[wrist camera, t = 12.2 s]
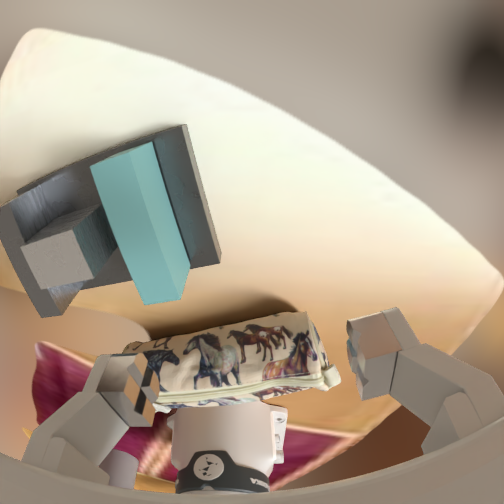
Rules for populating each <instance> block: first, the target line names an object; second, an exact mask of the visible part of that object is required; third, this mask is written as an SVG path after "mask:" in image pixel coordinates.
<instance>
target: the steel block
mask: <svg viewBox="0 0 504 504" xmlns="http://www.w3.org/2000/svg"><path fill="white" fill-rule="evenodd" d="M117 247H118V244H117V241H116V239H115V236H114V234H113V231H112V228H111V226H110V223H109V221H108V218H107V215H106V213H105V210H104V207H103V204H102V203H99V204H96V205H93V206H90V207H87V208H84V209H81V210H78V211H75V212H72V213H69V214H66V215H64V216H61V217H58V218H55V219H54V220H53V221H52V222H50V223H49V224H48V225H46V226H45V227H44V228H43V229H41V230H40V231H39V232H38V233H37V234H35V235H34V236H33V237H32V238H30V239H29V240H28V241H27V242H26V243H24V244H23V245H22V246H21V247H20V248H21V250H22V252H23V254H24V256H25V259H26V261H27V263H28V265H29V267H30V269H31V271H32V273H33V275H34V277H35V279H36V281H37V283H38V284H39V286H40V288H41V289H46V288H51V287H55V286H60V285H65V284H70V283H75V282H80V281H84V280H89V279H94V278H95V277H96V275H97V274H98V272H99V271H100V270H101V268H102V267H103V266H104V264H105V263H106V262H107V260H108V259H109V258H110V256H111V255H112V254H113V252H114V251H115V250H116V248H117Z"/></svg>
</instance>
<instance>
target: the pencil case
mask: <svg viewBox="0 0 504 504" xmlns="http://www.w3.org/2000/svg"><path fill="white" fill-rule="evenodd" d="M126 353H142V354H144V356H145V357H146V359H147V360H148V363H147V367H149V368H150V369H152V370H154V372H155V373H156V375H157V377H158V380H159V388H160V392H159V397H158V399H157V400H156V401H155V402H154V403H153V406H154V407H155V409H156V411H155V413H156V412H158V411H161V412H164V413H169V412H170V410H171V408H187V407H213V406H226V405H236V404H242V403H248V402H254V401H260V400H265V399H268V398H271V397H277V396H281V395H285V394H289V393H293V392H298V391H302V390H306V389H310V388H313V387H315V388H317V389H319V390H321V391H327V390H329V389H330V388H331V387H333V386H335V385H337V384H339V383H340V382H341V378H340V375H339V372H338V370H337V368H336V367H335V365H334V364H332V365H330V366H329V362H328V358H327V355H326V352H325V349H324V347H323V344H322V342H321V339H320V337H319V335H318V333H317V331H316V328H315V326H314V324H313V322H312V321H311V320H310V318H309V315H308V314H307V312H295V313H291V312H282V313H279V314H274V315H270V316H267V317H263V318H257V319H252V320H248V321H244V322H240V323H236V324H231V325H224V326H219V327H214V328H210V329H207V330H203V331H200V332H195V333H191V334H186V335H177V336H171V337H166V338H162V339H158V340H154V341H149V342H145V343H142V342H137V341H136V342H133V343H130V344H128V345H127V346H126V347H125V349H124V351H123V352H122V354H126Z"/></svg>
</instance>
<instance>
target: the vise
mask: <svg viewBox="0 0 504 504" xmlns="http://www.w3.org/2000/svg"><path fill="white" fill-rule="evenodd" d="M149 142H152V144H153V147H154V151H155V155H156V158H157V162H158V165H159V168H160V172H161V175H162V179H163V182H164V185H165V189H166V192H167V195H168V198H169V202H170V205H171V208H172V211H173V214H174V217H175V221H176V224H177V227H178V230H179V233H180V236H181V239H182V242H183V245H184V248H185V251H186V254H187V257H188V260H189V262H190V265H191V266H190V269H193V268H198V267H203V266H209V265H214V264H219V263H220V259H221V249H220V246H219V242H218V239H217V235H216V232H215V228H214V225H213V221H212V218H211V214H210V210H209V207H208V203H207V200H206V196H205V192H204V189H203V185H202V181H201V178H200V174H199V170H198V166H197V163H196V159H195V155H194V151H193V147H192V143H191V140H190V136H189V132H188V128H187V124H186V125H182V126H179V127H175V128H172V129H168V130H165V131H162V132H158V133H155V134H152V135H149V136H146V137H143V138H140V139H137V140H134V141H131V142H128V143H125V144H122V145H120V146H117V147H114V148H111V149H109V150H106V151H103V152H101V153H98V154H96V155H93V156H91V157H88V158H86V159H83V160H81V161H78V162H76V163H74V164H71V165H69V166H67V167H64V168H62V169H60V170H58V171H56V172H53V173H51V174H49V175H47V176H45V177H43V178H41V179H38V180H36V181H34V182H32V183H30V184H28V185H26V186H25V187H23V188H21V189H19V190H17V193H18V196H17V197H15V198H13V199H12V200H10V201H8V202H7V203H5V204H3V205H2V206H0V239H1V241H2V244H3V246H4V248H5V250H6V253H7V255H8V257H9V259H10V261H11V263H12V265H13V267H14V269H15V271H16V273H17V275H18V277H19V279H20V281H21V283H22V285H23V287H24V289H25V290H26V292H27V294H28V296H29V298H30V299H31V301H32V303H33V305H34V306H35V308H36V310H37V311H38V313H39V314H40V316H41V317H42V318H44V317H52V316H59V315H63V313H64V312H65V310H66V309H67V307H68V306H69V304H70V303H71V302H72V300H73V299H74V297H75V296H76V294H77V293H78V292H79V290H83V289H89V288H94V287H99V286H105V285H110V284H115V283H120V282H126V281H131V280H133V279H132V277H131V274H130V272H129V270H128V268H127V265H126V263H125V261H124V258H123V256H122V253H121V251H120V249H119V246H118V247H117V248H116V250H115V251H114V252H113V254H112V255H111V256H110V258H109V259H108V260H107V262H106V263H105V264H104V266H103V267H102V268H101V270H100V271H99V272H98V274H97V275H96V277H95V278H94V279H89V280H84V281H80V282H75V283H70V284H65V285H60V286H55V287H51V288H46V289H41V288H40V286H39V284H38V283H37V281H36V279H35V277H34V275H33V273H32V271H31V269H30V267H29V265H28V263H27V261H26V259H25V256H24V254H23V252H22V250H21V248H20V247H21V246H22V245H23V244H24V243H26V242H27V241H28V240H29V239H30V238H32V237H33V236H34V235H35V234H37V233H38V232H39V231H40V230H41V229H43V228H44V227H45V226H46V225H48V224H49V223H50V222H52V221H53V220H54V219H55V218H58V217H61V216H64V215H66V214H69V213H72V212H75V211H78V210H81V209H84V208H87V207H90V206H93V205H96V204H99V203H102V201H101V199H100V196H99V193H98V190H97V187H96V184H95V181H94V178H93V175H92V172H91V169H90V166H92V165H94V164H96V163H98V162H100V161H102V160H104V159H106V158H108V157H110V156H112V155H115V154H117V153H119V152H122V151H125V150H128V149H131V148H134V147H137V146H140V145H143V144H146V143H149Z"/></svg>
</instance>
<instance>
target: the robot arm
mask: <svg viewBox="0 0 504 504" xmlns="http://www.w3.org/2000/svg"><path fill="white" fill-rule="evenodd" d="M347 333H348V335H349V339H348V341H347V353H348V359H349V363H350V367H351V370H352V372H354V373H355V374H356V385H357V388H358V391H359V394H360V397H361V400H362V401H363V400H367V399H371V398H375V397H379V396H383V395H386V394H390V396H392V397H393V398H394V399H396V400H397V401H398V402H399V403H401V404H402V405H403V406H405V407H406V408H407V409H408V410H410V411H411V412H412V413H414V414H415V415H416V416H418V417H419V418H420V419H422V420H423V421H424V422H425V423H427V424H428V425H429V426H431V429H430V431H429V432H428V434H427V436H426V438H425V440H424V442H423V443H422V445H421V447H422V450H423V453H424V455H423V456H421V457H418V458H415V459H412V460H410V461H407V462H404V463H401V464H398V465H395V466H392V467H389V468H386V469H383V470H379V471H376V472H372V473H369V474H365V475H361V476H357V477H353V478H349V479H345V480H341V481H336V482H331V483H326V484H321V485H316V486H310V487H304V488H297V489H290V490H282V491H273V492H270V487H269V479H268V477H269V476H270V474H271V472H272V469H273V464H274V463H275V464H276V463H284V456H283V450H282V448H283V442H284V436H285V429H286V423H287V416H288V411H287V409H286V408H283V407H279V406H273V405H268V404H266V403H263V402H261V401H254V402H248V403H242V404H236V405H226V406H213V407H187V408H178V409H177V412H176V413H175V414H173V415H171V416H170V417H168V418H167V426H168V427H169V428H171V429H172V430H173V433H172V448H171V463H172V464H173V465H174V466H175V467H176V468H177V469H178V470H179V471H178V473H177V480H176V482H175V488H176V493H162V492H152V491H143V490H135V489H128V488H122V487H116V486H110V485H108V484H109V479H110V477H109V475H108V474H107V473H106V472H105V471H103V470H102V469H101V468H99V467H98V466H99V465H100V463H101V462H102V461H103V460H104V458H105V457H106V456H107V455H108V454H109V452H110V451H111V450H112V449H113V447H114V446H115V445H116V444H117V442H118V441H119V440H120V439H121V437H122V436H123V435H124V434H125V432H126V431H127V430H128V429H129V427H128V426H132V427H151V426H152V424H153V420H154V415H155V411H156V409H155V407H154V406H153V403H154V402H155V401H156V400H157V399H158V397H159V392H160V388H159V380H158V377H157V375H156V373H155V372H154V370H152V369H150V368H149V367H147V363H148V360H147V359H146V357H145V356H144V354H142V353H126V354H110V355H100V356H99V357H97V359H96V361H95V364H94V366H93V368H92V370H91V373H90V375H89V377H88V379H87V382H86V384H85V386H84V389H83V391H82V392H78V393H77V394H75V395H74V396H73V397H72V398H71V399H70V400H69V401H67V402H66V403H65V404H64V405H63V406H62V407H60V408H59V409H58V410H57V411H56V412H55V413H53V414H52V415H51V416H50V417H49V418H48V419H46V420H45V421H44V422H43V423H42V424H41V425H40V426H38V427H37V428H36V429H35V430H34V431H33V433H32V435H31V438H30V440H29V443H28V445H27V448H26V450H25V453H24V455H23V458H22V461H20V460H17V459H14V458H12V457H9V456H7V455H5V454H2V453H0V504H504V396H503V395H502V393H501V391H500V389H499V387H498V386H497V384H496V383H495V381H494V379H493V378H492V376H491V375H489V374H487V373H485V372H483V371H481V370H479V369H477V368H475V367H472V366H471V365H469V364H467V363H465V362H463V361H460V360H458V359H456V358H454V357H452V356H450V355H448V354H446V353H444V352H442V351H440V350H438V349H436V348H434V347H432V346H430V345H428V344H426V343H425V344H421V343H420V342H419V340H418V338H417V337H416V335H415V333H414V332H413V330H412V329H411V327H410V325H409V324H408V322H407V320H406V319H405V317H404V316H403V314H402V312H401V311H400V309H399V308H397V307H395V308H392V309H388V310H384V311H381V312H378V313H374V314H370V315H366V316H362V317H358V318H354V319H350V320H347Z"/></svg>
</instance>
